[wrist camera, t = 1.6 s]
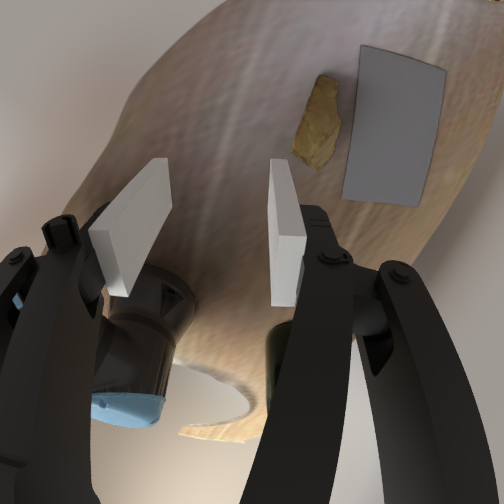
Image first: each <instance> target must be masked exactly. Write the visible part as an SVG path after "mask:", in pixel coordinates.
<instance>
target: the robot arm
mask: <svg viewBox="0 0 504 504" xmlns="http://www.w3.org/2000/svg"><path fill="white" fill-rule="evenodd" d="M171 209H172V199H171V189H170V179H169V168H168V158H153V159H152V160H151V161H150V162H149V163H148V164H147V165H146V166H145V167H144V168H143V169H142V170H141V171H140V172H139V173H138V174H137V175H136V176H135V177H134V178H133V179H132V180H131V181H130V182H129V183H128V184H127V185H126V187H125V188H124V189H123V190H122V191H121V192H120V193H119V194H118V195H117V196H116V198H115V199H114V200H113V201H112V202H108V203H106V204H104V205H103V206H101V207H100V208H98V209H97V211H96V212H95V213H94V214H93V216H91V217H90V219H89V220H88V222H86V223H85V224H84V226H83V227H82V228H81V229H80V230H79V227H78V224H77V220H76V218H75V216H74V215H70V214H67V215H61V216H57V217H55V218H53V219H51V220H49V221H48V222H47V223H45V224H44V225H43V226H42V231H43V234H44V237H45V240H46V242H47V245H48V248H49V250H48V252H47V254H46V255H44V256H39V257H34V255H33V253H32V251H31V249H30V247H26V246H25V247H19V248H16V249H14V250H13V251H12V252H10V253H9V254H8V255H7V256H6V257H5V258H4V260H3V261H2V262H1V263H0V504H101V503H100V500H99V498H98V497H97V495H96V494H95V492H94V491H93V488H92V484H91V461H90V427H91V425H90V423H91V417H92V418H94V419H97V420H99V421H102V422H106V423H109V424H113V425H117V426H122V427H130V428H147V427H151V426H153V425H155V424H156V423H157V422H158V421H159V419H160V415H161V412H162V409H163V405H164V402H165V401H166V399H165V395H166V390H167V385H168V380H169V375H170V371H171V366H172V361H173V357H174V352H175V348H176V344H177V343H178V341H179V340H180V339H181V337H182V336H183V334H184V333H185V332H186V330H187V329H188V327H189V326H190V324H191V322H192V320H193V317H194V312H195V299H194V296H193V294H192V292H191V291H190V289H189V288H188V287H187V285H186V284H185V283H184V282H183V281H182V280H180V279H179V278H178V277H176V276H175V275H173V274H172V273H170V272H168V271H166V270H163V269H160V268H157V267H153V266H147V265H143V264H144V262H145V260H146V258H147V256H148V254H149V252H150V250H151V248H152V246H153V244H154V242H155V240H156V238H157V236H158V234H159V232H160V230H161V228H162V226H163V224H164V222H165V220H166V218H167V216H168V215H169V213H170V211H171ZM268 231H269V254H270V279H271V306H284V307H295V302H296V296H297V305H296V310H295V314H294V318H293V322H292V327H291V331H290V335H289V339H288V343H287V347H286V351H285V355H284V359H283V362H282V366H281V370H280V374H279V377H278V381H277V385H276V388H275V392H274V396H273V399H272V403H271V406H270V410H269V413H268V416H267V420H266V423H265V427H264V430H263V433H262V436H261V440H260V443H259V446H258V449H257V452H256V456H255V459H254V462H253V465H252V468H251V471H250V474H249V477H248V480H247V483H246V486H245V489H244V491H243V495H242V497H241V500H240V503H239V504H329V501H330V496H331V492H332V488H333V483H334V478H335V473H336V467H337V463H338V457H339V451H340V446H341V439H342V432H343V425H344V418H345V410H346V402H347V393H348V383H349V373H350V360H351V346H352V345H351V344H352V333H355V336H356V340H357V344H358V348H359V352H360V356H361V361H362V366H363V370H364V375H365V380H366V384H367V389H368V394H369V399H370V405H371V410H372V415H373V421H374V427H375V433H376V439H377V445H378V452H379V459H380V466H381V475H382V483H383V492H384V503H385V504H499V498H498V491H497V486H496V485H497V484H496V478H495V473H494V468H493V463H492V459H491V454H490V450H489V446H488V442H487V438H486V434H485V431H484V427H483V423H482V420H481V417H480V413H479V410H478V407H477V404H476V401H475V398H474V395H473V392H472V389H471V386H470V384H469V381H468V378H467V376H466V373H465V371H464V368H463V365H462V363H461V360H460V358H459V356H458V353H457V351H456V349H455V346H454V344H453V342H452V340H451V337H450V335H449V333H448V331H447V328H446V326H445V324H444V322H443V320H442V318H441V316H440V314H439V312H438V310H437V308H436V306H435V304H434V302H433V300H432V298H431V296H430V294H429V292H428V290H427V288H426V286H425V285H424V283H423V281H422V279H421V277H420V276H419V274H418V273H417V272H416V270H415V269H414V268H412V267H411V266H409V265H408V264H406V263H404V262H401V261H395V260H390V261H386V262H384V263H382V264H381V266H380V268H379V271H376V270H372V269H368V268H364V267H361V266H358V265H356V264H354V263H353V258H352V256H351V255H350V254H349V252H348V251H346V250H345V249H343V248H341V247H339V244H338V242H337V239H336V236H335V234H334V231H333V228H332V226H331V223H330V221H329V218H328V216H327V213H326V212H325V211H324V210H323V209H322V208H320V207H319V206H314V205H299V202H298V199H297V195H296V191H295V187H294V183H293V180H292V176H291V172H290V169H289V165H288V161H287V159H271V163H270V179H269V195H268ZM105 284H106V286H107V289H108V292H109V294H110V295H109V309H108V319H107V318H106V317H105V316H103V315H102V311H103V306H104V298H103V295H102V293H101V290H102V288H103V286H104V285H105Z"/></svg>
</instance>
